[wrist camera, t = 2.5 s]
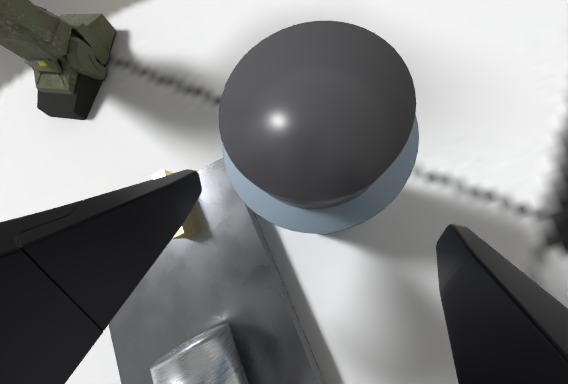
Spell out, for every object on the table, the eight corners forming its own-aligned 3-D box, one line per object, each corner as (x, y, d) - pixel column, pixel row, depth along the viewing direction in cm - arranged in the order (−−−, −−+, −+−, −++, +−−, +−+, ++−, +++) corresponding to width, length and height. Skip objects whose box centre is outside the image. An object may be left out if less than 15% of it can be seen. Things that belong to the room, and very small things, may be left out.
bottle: (369, 215, 16) (515, 154, 4) (304, 245, 17) (245, 279, 4) (336, 154, 18) (364, -42, 5) (276, 184, 18) (166, 69, 5)
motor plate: (345, 431, 14) (363, 609, 8) (169, 498, 15) (45, 708, 9) (230, 157, 19) (179, 115, 12) (103, 222, 20) (-9, 216, 13)
